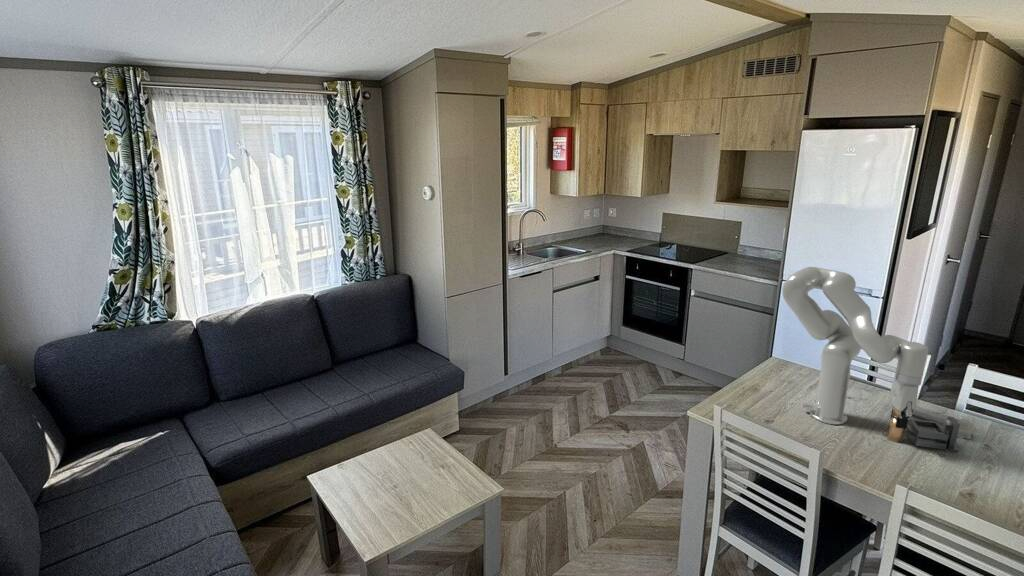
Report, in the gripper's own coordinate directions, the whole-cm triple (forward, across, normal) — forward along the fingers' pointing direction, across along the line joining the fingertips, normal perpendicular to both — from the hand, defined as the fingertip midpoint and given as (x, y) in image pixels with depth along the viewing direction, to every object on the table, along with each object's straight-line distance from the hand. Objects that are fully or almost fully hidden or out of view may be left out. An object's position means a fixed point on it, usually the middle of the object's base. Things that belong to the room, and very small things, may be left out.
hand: (898, 423), depth 191 cm
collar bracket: (+6, 0, +11) cm, 13 cm away
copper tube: (+6, 0, 0) cm, 6 cm away
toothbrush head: (+7, -15, +17) cm, 24 cm away
